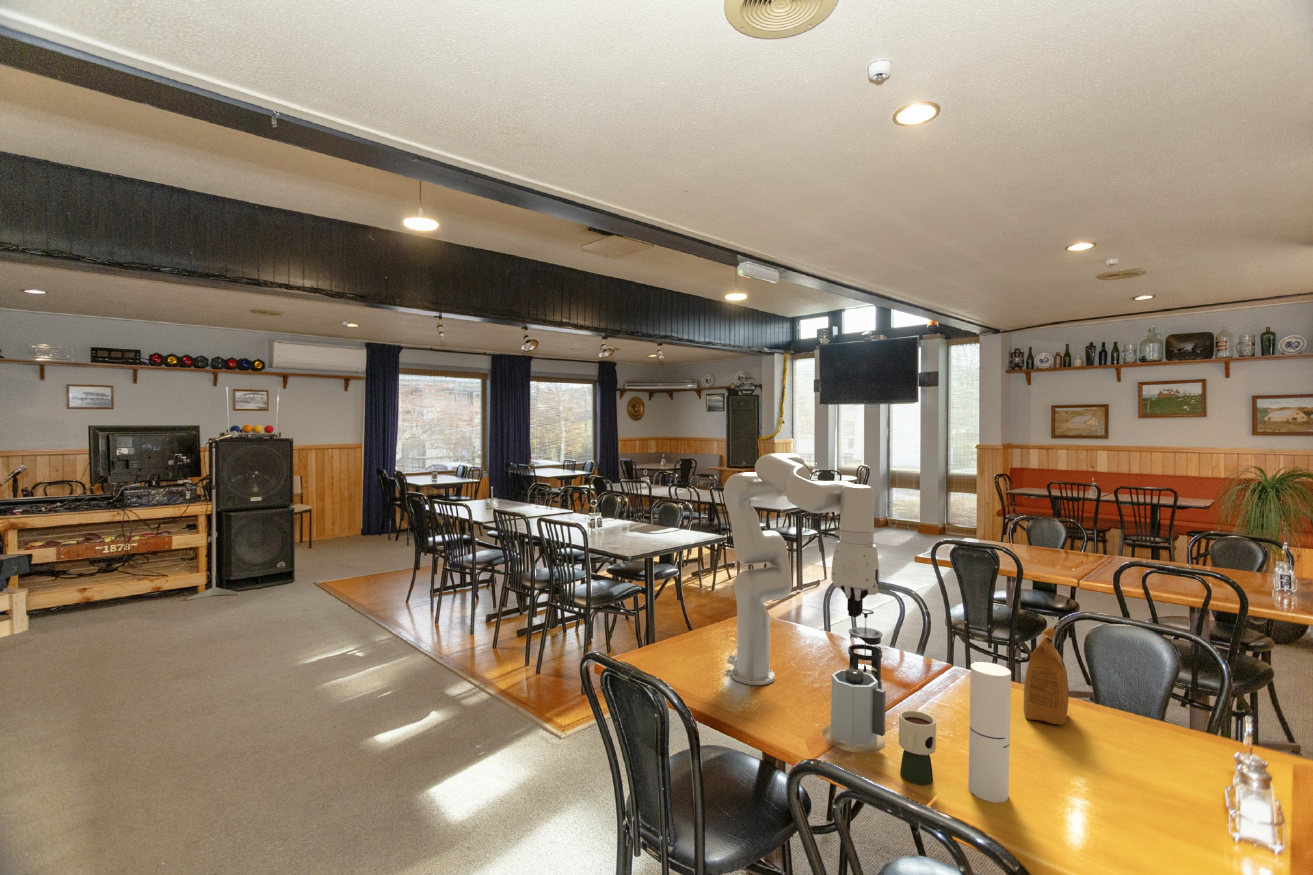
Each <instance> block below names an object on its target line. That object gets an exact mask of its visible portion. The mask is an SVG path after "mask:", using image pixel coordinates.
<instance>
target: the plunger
mask: <svg viewBox="0 0 1313 875" xmlns="http://www.w3.org/2000/svg"><path fill="white" fill-rule="evenodd" d="M845 670H846V681H847V682H849V683H852V685H857V684H862V683H863V681H864V673H863V672H862V671H860V670H857V669H849V668H847V669H845Z"/></svg>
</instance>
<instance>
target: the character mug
mask: <svg viewBox="0 0 1313 875" xmlns="http://www.w3.org/2000/svg"><path fill="white" fill-rule="evenodd" d="M936 735H937V721H936V718H934V717H933V716H932V715H930V714H929V713H927V712H923V711H920V710H911V709H910V710H909V709H907V710H902V711H900V713H899V716H898V745H899V746H900V747H901V749H903V751H902V757H901V763H900V769H899V774H900V776H901V777H902V778H903V779H904V780H907V781H909V782H910V783H913V784H916V785H919V786H928V785H931V784H932V781H933V780H934V775H933V766H932V758H931V756H930V755H932V754H934V753H935V752H936V748H937V746H936V744H937V741H936V740H937V736H936Z"/></svg>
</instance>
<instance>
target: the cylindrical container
mask: <svg viewBox="0 0 1313 875" xmlns="http://www.w3.org/2000/svg"><path fill="white" fill-rule="evenodd" d="M969 678H970V679H969V680H970V681H969V682H970V684H969V685H970V686H969V688H970V689H969V730H968V731H969V734H968V736H969V740H968V742H969V743H968V784H967V786H968V790H969V792H971V793H972V794H973V796H975V797H977V798H979V799H980V800H984V801H986V802H990V803H999V804H1000V803H1004V802H1007V801H1008V800H1009V794H1010V793H1009V792H1010V790H1009V789H1010V746H1011V745H1010V742H1011V741H1010V740H1011V736H1010V735H1011V733H1010V732H1011V699H1012V698H1011V695H1012V694H1011V693H1012V692H1011V691H1012V690H1011V689H1012V686H1011V685H1012V671H1011V669H1009V668H1007V667H1006V666H1004V665H1001V664H998V663H993V662H986V661H984V662H983V661H977V662H972V663H971V664H970V677H969Z"/></svg>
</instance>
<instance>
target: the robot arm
mask: <svg viewBox="0 0 1313 875" xmlns="http://www.w3.org/2000/svg"><path fill="white" fill-rule="evenodd" d="M784 495H785V496H786V498H787V500H788V502H789V503H790V504H792V505H794V506H795V507H797V508H800V509H802V510H803V511H805V512H809V513H813V514H821V513H824V514H825V513H833V512H834V513H840V516H839V518H840V520H839V529H836V530H835V531H834V535H835V536H838V539H839V540H837V541H836V542H835V546H834V548H833V555H832V562H831V575H830V576H831V581H832V582H833V586H834V587H836V588H837V589H840V590H841V591H842V592H843V594H844V595H845V596H844V597H845V598H846V599H847V612H848V617H853V618H858V617H859V616H861V615H862V609H864V608H863V603H864V599H865V598H866V597H867V596H875V595H877V594H879V587H878V586H879V584H880V563H879V555H878V549H877V548H878V547H877V545H876V544H874V536H875V534H874V533H875V531H874V530H875V528H874V527H875V489H874V488H873V487H872V486H870V485H866V484H856V483H852V482H850V481H845V480H825V481H824V480H823V481H821V480H820V481H812V480H811V474H810V470H809V469H808V467H807V466H806V462H805V461H804V459H803V458H802V457H801V456H799V455H798V454H796V453H790V452H789V453H788V452H787V453H766V454H764V455H762V456H760V457H759V458H758V459H757V461H756V462H755V464H754V471H747V472H738V473H734V474H732V475H731V476H729V477H728V479H727V480H726V482H725V484H724V487H723V499H724V503H725V506H726V510H727V512H728V516H729V519H730V524H731V525H730V526H731V534H732V535H731V536H732V539H733V540H732V541H733V548H734V553H735V557H736V559H737V561H738V563H740V564H742V565H758V564H765V565H766V567H759V568H750V569H746V570H742V571H741V572H739V573H738V574H737V575H736V576H735V579H734V582H733V585H734V586H733V587H734V593H735V594H734V595H735V597H736V598H735V599H736V600H735V601H736V610H737V611H736V613H737V615H736V616H737V617H736V619H737V620H736V623H737V625H736V626H737V628H736V630H737V632H736V633H737V634H736V655H734V654H729V656H728V658H727V663H726V664H729V665H732V666H733V668H732V670H731V672H730V673H731V674H730V675H731V677H732V679H733V680H734V681H736V682H738V683H741V684H744V685H750V686H764V685H769V684H771V683H773V682H774V681H775V679H776V675H775V672H774V671H773V670H772V669H770V661H771V660H770V657H771V656H770V655H771V654H770V653H771V652H770V651H771V616H770V614H769V612H768V609H767V607H766V606H765V604H764V603H766V602H770V601H777V600H782V599H786V598H787V597H789V596H790V594H791V592H792V590H793V589H792V588H793V579H792V578H793V577H792V572H791V571H792V570H791V566H790V560H789V559H790V558H789V552H788V547H787V544H786V541H785V539H784V537H783V536H782V535H781V533H780V532H778V531H776V530H771V529H770V530H768V529H767V530H762V528H761V521H760V517H759V514H758V512H757V511H756V509H755V508H754V506H753V505H752V504H751V503H750V502H753V501H755V502H756V501H757V502H758V501H773V500H777V499H779V498H781V497H783V496H784Z"/></svg>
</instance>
